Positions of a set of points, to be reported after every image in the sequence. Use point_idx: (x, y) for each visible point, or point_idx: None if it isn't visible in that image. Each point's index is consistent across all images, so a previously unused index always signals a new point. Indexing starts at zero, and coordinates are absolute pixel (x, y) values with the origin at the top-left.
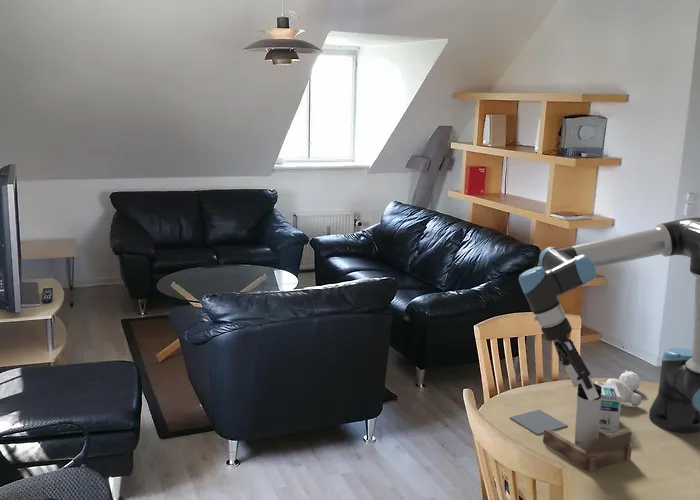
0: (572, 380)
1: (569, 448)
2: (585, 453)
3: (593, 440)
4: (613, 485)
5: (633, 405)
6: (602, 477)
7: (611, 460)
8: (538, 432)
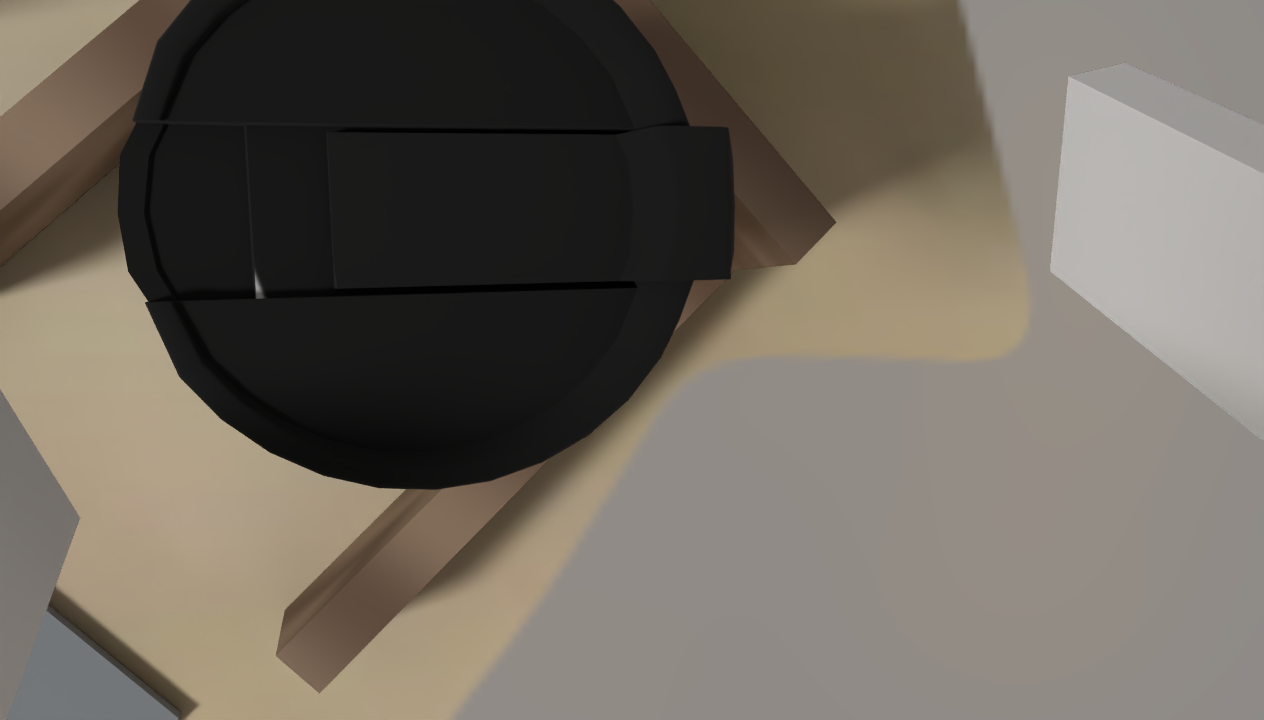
0: (24, 629)
1: None
2: None
3: (762, 198)
4: (869, 72)
5: None
6: (781, 143)
7: None
8: (136, 711)
